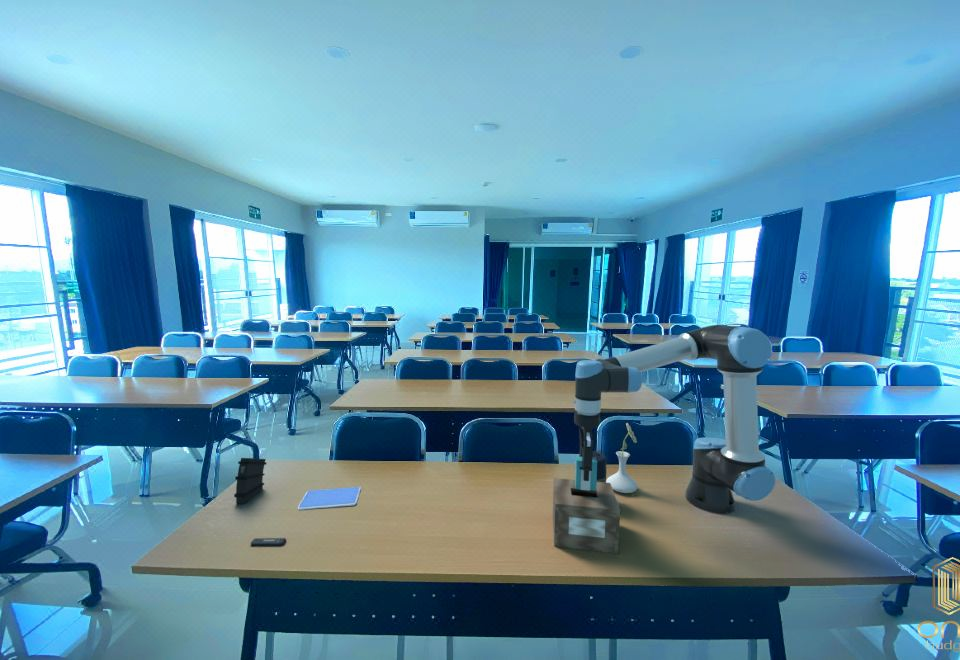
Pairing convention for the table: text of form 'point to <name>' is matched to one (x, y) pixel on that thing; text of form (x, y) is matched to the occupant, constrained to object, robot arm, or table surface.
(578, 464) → the block
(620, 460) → the flower in vase
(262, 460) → the black flat ridged block
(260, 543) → the usb stick
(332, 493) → the tablet computer
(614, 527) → the suggestion box
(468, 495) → the table surface
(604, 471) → the canister
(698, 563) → the table surface
